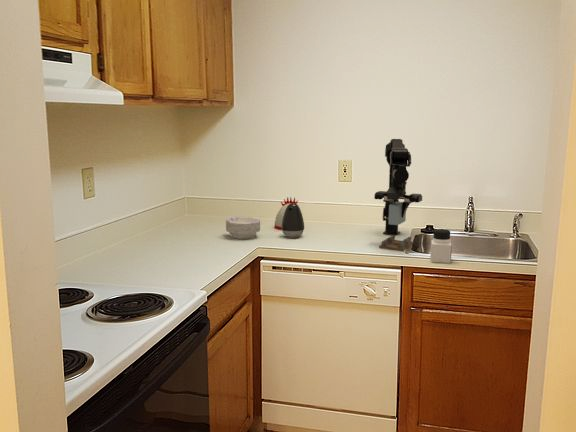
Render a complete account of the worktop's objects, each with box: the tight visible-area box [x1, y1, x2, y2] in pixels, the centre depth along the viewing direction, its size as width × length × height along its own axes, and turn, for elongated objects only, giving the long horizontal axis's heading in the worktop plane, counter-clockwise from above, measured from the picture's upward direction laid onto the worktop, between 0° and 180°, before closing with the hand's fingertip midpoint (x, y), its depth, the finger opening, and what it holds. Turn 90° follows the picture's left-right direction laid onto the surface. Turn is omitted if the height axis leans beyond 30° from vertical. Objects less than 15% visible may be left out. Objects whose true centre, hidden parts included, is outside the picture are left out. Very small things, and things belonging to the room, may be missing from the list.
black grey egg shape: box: [281, 203, 305, 239], centre depth 261 cm, size 10×10×15 cm
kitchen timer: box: [274, 196, 299, 231], centre depth 281 cm, size 14×14×15 cm
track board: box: [378, 235, 414, 252], centre depth 245 cm, size 14×10×3 cm
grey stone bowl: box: [225, 216, 261, 240], centre depth 261 cm, size 15×15×8 cm
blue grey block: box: [389, 201, 407, 226], centre depth 243 cm, size 10×4×8 cm, turn 152°
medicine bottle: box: [430, 228, 453, 264], centre depth 221 cm, size 7×7×12 cm
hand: (397, 217), depth 243 cm, fingers closed on blue grey block, 4 cm apart
